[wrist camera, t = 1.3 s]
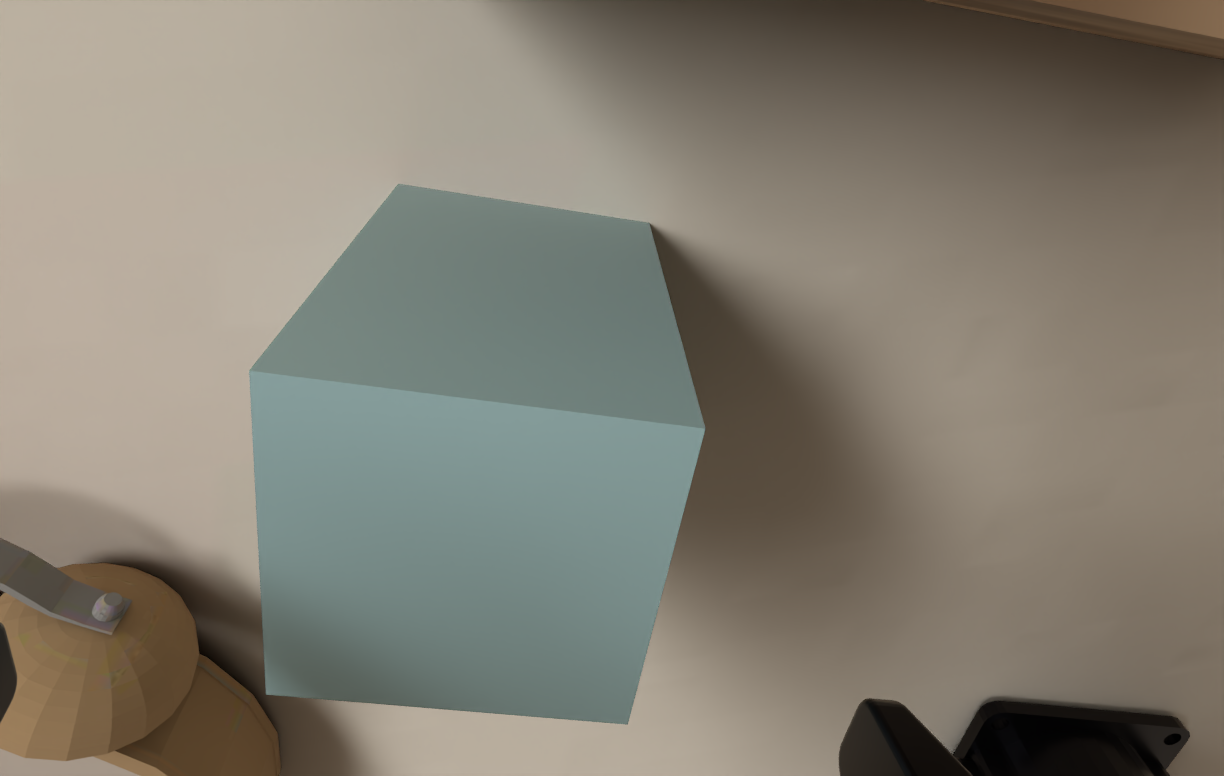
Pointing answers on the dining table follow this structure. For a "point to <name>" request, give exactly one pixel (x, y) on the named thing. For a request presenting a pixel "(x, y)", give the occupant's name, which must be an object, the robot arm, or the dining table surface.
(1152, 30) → the cleat board
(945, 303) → the dining table surface
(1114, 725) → the robot arm
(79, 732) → the alarm clock
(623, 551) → the teal block
